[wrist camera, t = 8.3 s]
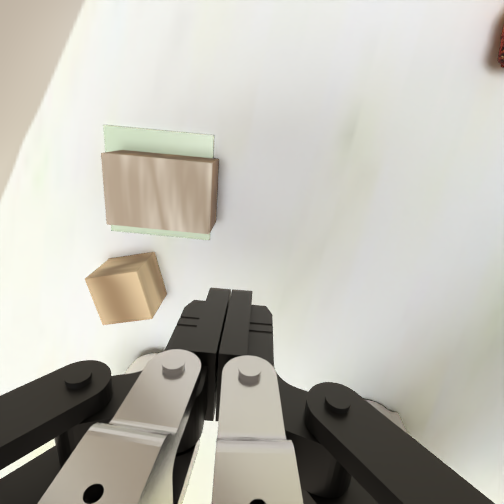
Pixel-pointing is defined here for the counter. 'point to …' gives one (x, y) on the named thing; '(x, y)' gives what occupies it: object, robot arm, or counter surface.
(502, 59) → the croissant
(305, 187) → the counter surface
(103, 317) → the oak block
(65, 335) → the counter surface
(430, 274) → the counter surface
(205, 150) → the pad
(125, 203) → the walnut block
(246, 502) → the robot arm
